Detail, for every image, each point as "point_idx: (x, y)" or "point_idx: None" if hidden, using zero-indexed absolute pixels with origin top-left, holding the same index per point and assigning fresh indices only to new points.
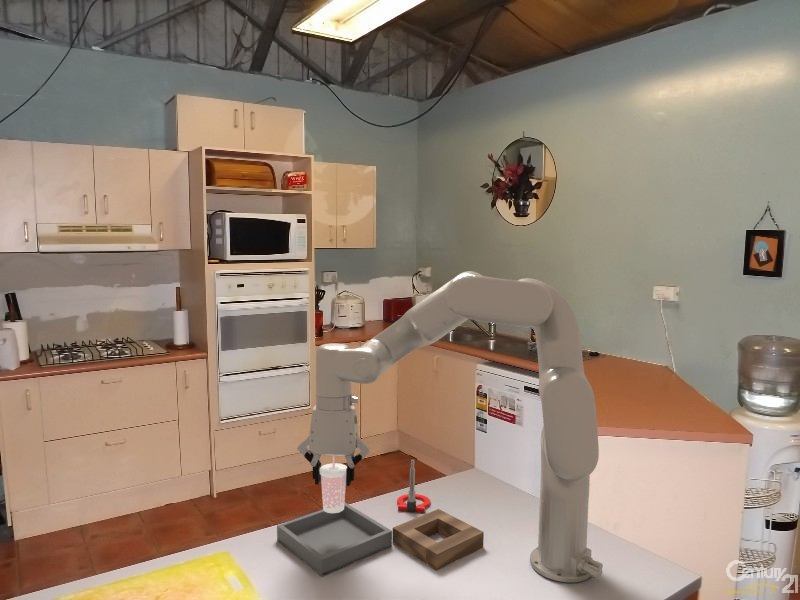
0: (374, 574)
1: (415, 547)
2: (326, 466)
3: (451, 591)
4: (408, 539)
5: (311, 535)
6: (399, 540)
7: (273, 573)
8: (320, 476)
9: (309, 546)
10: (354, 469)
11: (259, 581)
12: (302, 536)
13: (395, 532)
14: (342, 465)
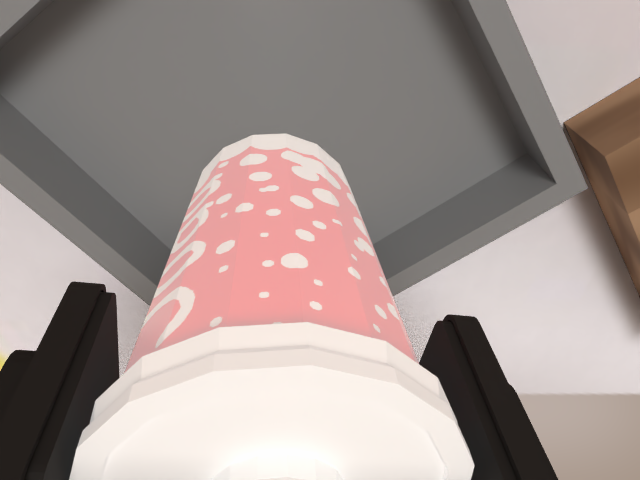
0: (430, 321)
1: (636, 258)
2: (154, 433)
3: (631, 387)
4: (633, 237)
5: (137, 50)
6: (597, 175)
7: (55, 310)
8: (104, 353)
9: None
10: (551, 467)
11: (23, 347)
12: (85, 59)
13: (603, 165)
14: (410, 420)
